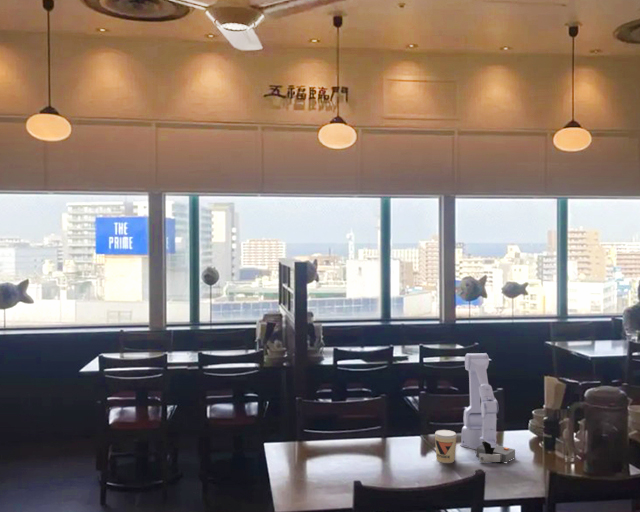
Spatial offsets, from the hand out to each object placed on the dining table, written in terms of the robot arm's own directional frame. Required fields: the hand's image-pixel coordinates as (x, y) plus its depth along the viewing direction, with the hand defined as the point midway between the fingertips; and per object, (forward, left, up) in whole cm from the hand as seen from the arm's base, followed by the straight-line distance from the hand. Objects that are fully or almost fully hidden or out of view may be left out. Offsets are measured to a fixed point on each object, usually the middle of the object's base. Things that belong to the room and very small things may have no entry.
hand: (489, 458), depth 274 cm
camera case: (0, +7, -1) cm, 7 cm away
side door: (+1, -1, -1) cm, 2 cm away
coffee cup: (-15, -10, -2) cm, 19 cm away
